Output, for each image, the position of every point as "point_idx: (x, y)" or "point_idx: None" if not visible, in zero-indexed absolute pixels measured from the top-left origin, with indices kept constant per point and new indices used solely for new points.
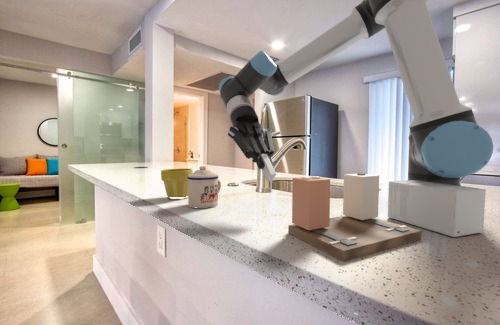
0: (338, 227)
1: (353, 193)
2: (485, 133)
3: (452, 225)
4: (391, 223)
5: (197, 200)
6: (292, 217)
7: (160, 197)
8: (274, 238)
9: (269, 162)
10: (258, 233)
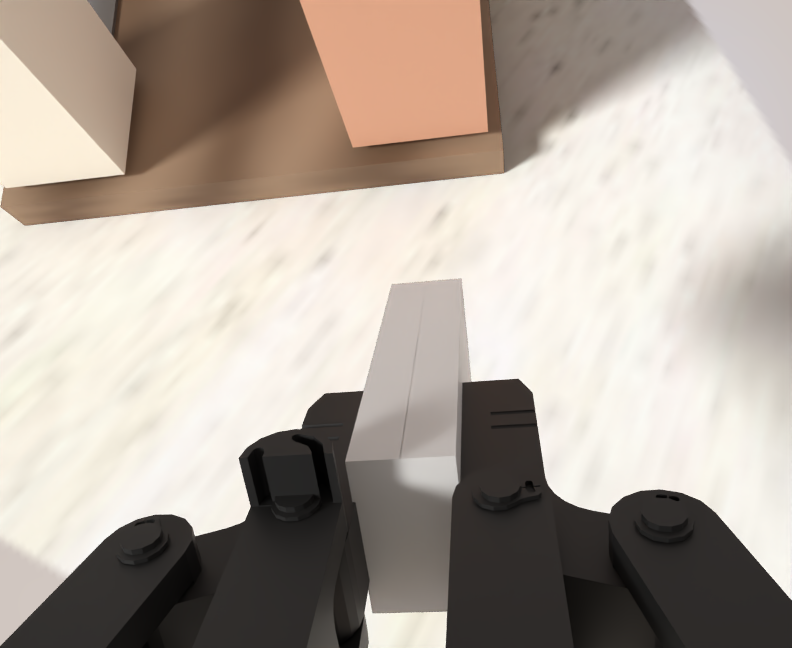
0: (299, 53)
1: (56, 23)
2: None
3: None
4: None
5: None
6: (486, 110)
7: None
8: (607, 135)
9: (394, 359)
10: (659, 218)
